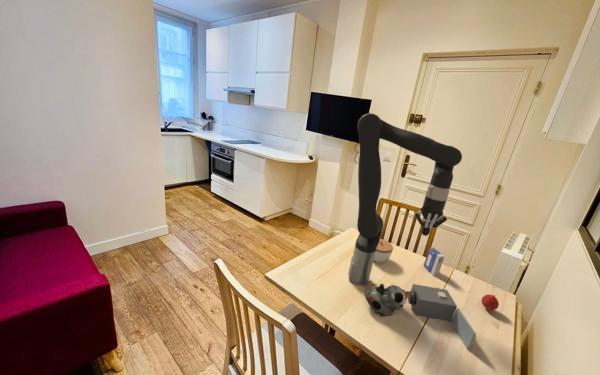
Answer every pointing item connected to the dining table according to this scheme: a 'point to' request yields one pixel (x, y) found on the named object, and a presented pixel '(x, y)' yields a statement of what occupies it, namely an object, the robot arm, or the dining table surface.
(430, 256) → the walkman
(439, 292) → the camera housing
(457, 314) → the door
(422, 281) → the dining table surface
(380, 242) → the lidded bowl
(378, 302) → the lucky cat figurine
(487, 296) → the red bumpy ovoid
